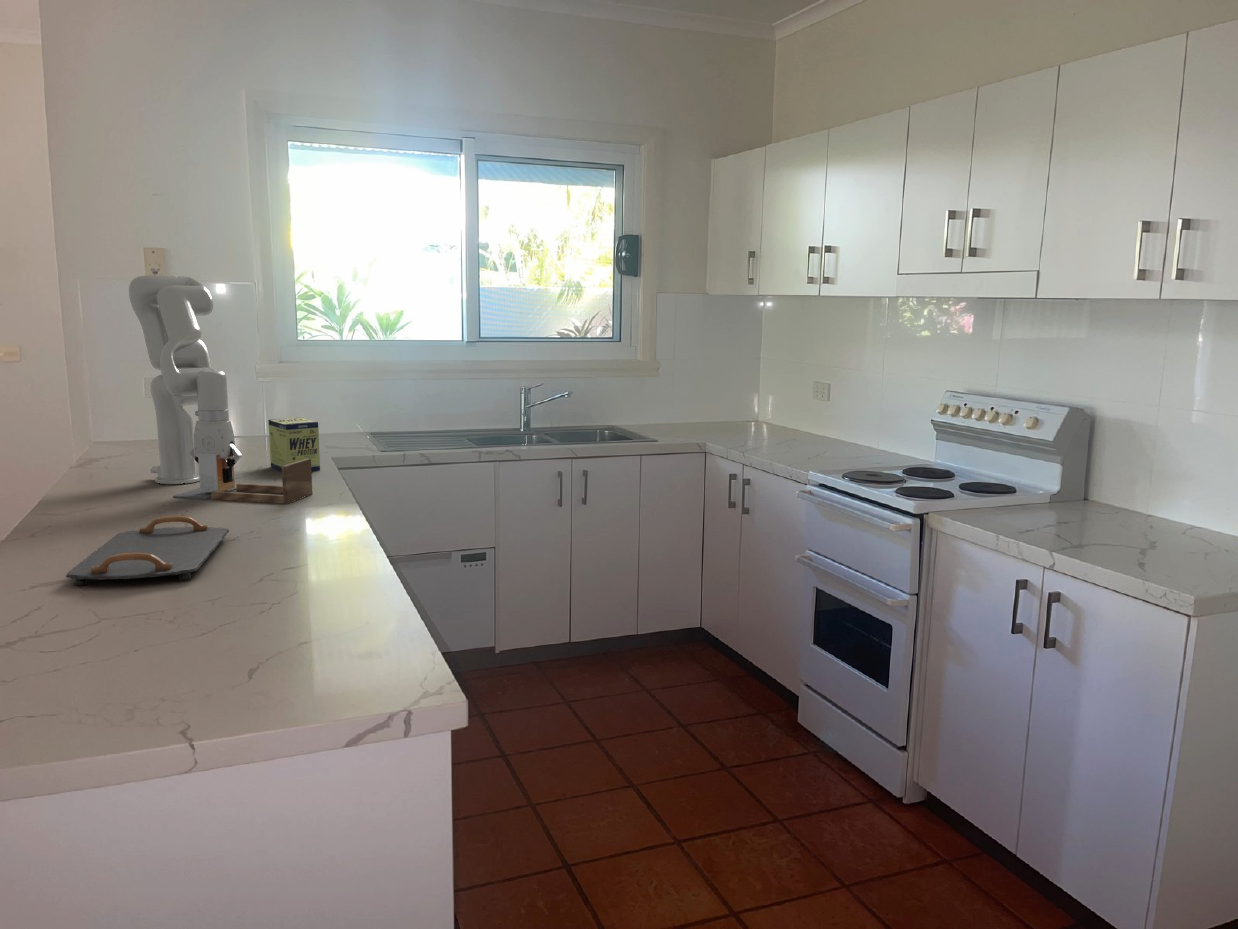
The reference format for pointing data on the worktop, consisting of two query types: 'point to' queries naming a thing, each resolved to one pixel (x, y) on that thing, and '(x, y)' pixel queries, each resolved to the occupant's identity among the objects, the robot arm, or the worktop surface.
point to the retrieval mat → (198, 494)
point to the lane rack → (276, 486)
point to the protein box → (293, 442)
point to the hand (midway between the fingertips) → (217, 480)
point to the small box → (213, 473)
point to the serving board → (151, 552)
